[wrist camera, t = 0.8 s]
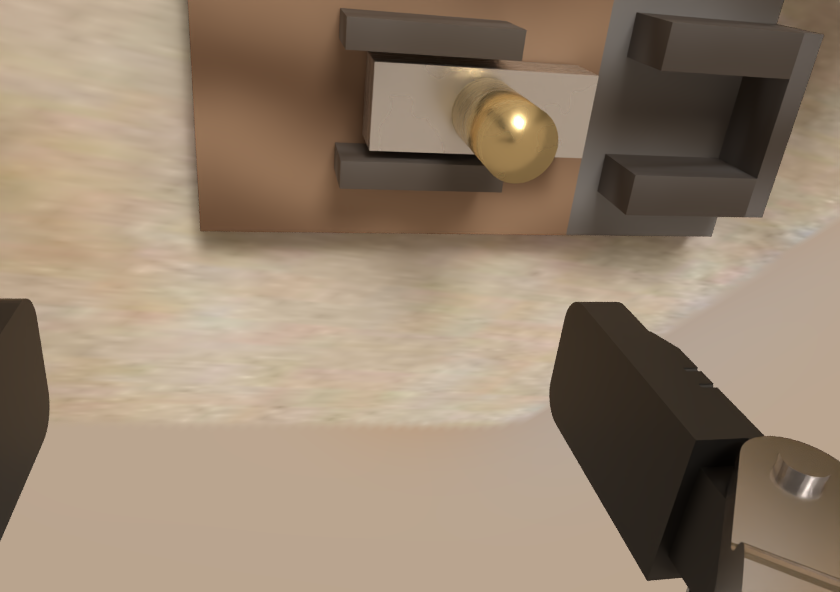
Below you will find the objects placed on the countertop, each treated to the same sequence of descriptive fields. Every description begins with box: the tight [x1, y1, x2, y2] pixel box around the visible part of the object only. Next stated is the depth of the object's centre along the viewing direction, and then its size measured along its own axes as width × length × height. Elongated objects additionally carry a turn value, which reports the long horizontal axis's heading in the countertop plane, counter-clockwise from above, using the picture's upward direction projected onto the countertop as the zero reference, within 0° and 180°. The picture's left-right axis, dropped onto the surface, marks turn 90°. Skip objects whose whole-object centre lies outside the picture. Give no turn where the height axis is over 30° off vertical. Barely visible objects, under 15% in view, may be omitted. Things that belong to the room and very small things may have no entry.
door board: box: [188, 0, 824, 237], centre depth 26 cm, size 11×22×4 cm, turn 84°
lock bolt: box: [362, 51, 599, 184], centre depth 24 cm, size 3×8×6 cm, turn 84°
